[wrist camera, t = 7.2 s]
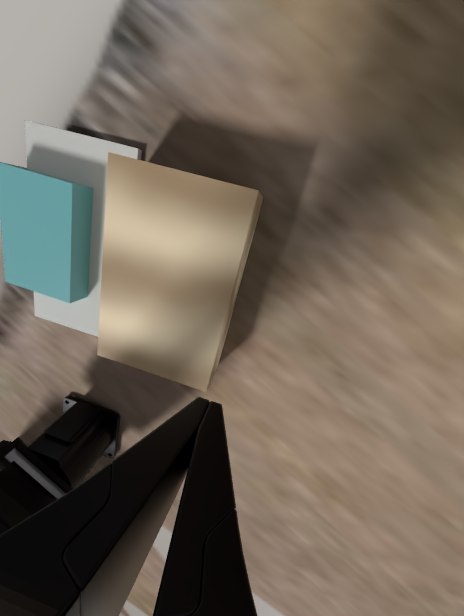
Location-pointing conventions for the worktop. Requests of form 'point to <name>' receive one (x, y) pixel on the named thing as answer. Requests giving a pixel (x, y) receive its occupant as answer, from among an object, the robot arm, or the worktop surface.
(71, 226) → the teal rectangular block
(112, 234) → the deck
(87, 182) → the mat
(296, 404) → the worktop surface
